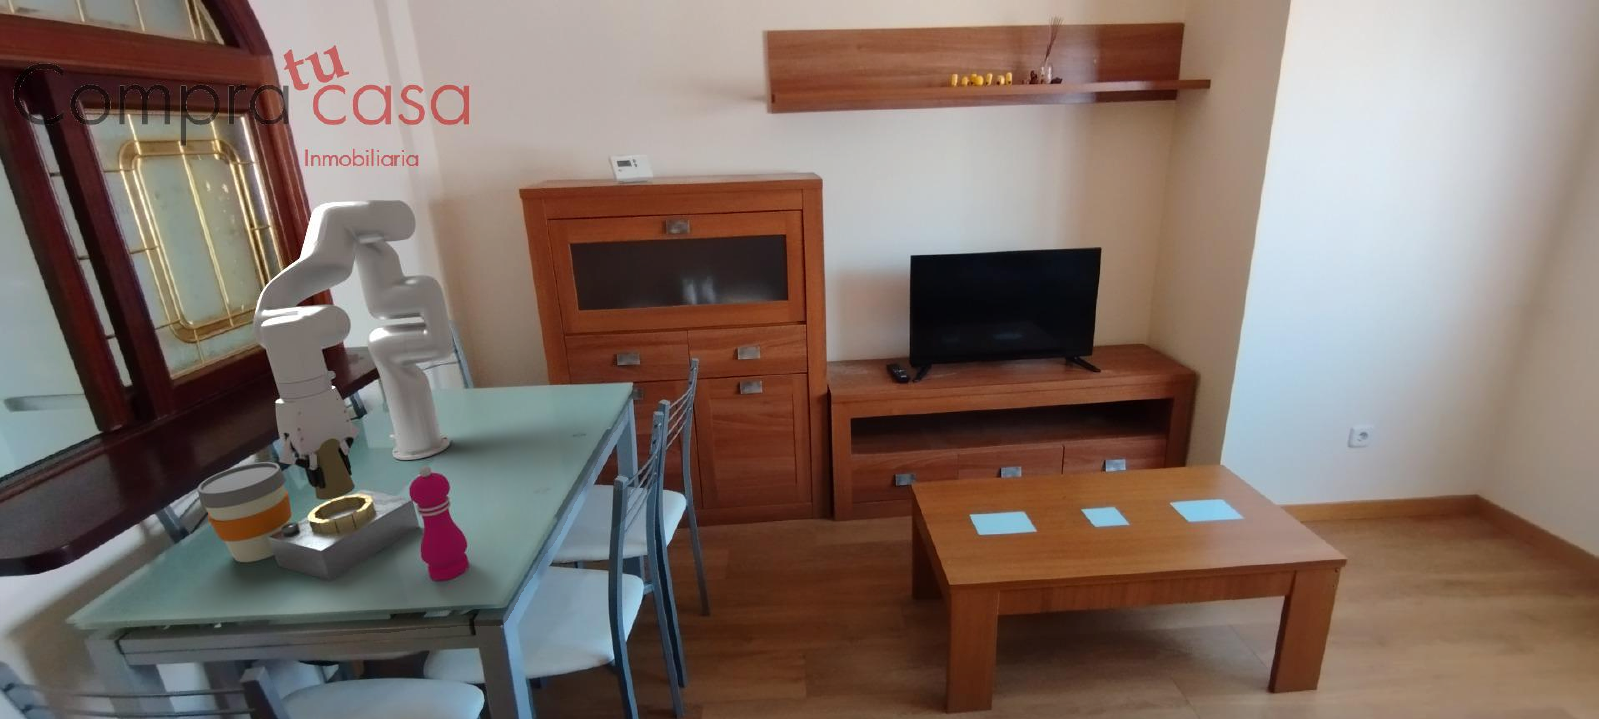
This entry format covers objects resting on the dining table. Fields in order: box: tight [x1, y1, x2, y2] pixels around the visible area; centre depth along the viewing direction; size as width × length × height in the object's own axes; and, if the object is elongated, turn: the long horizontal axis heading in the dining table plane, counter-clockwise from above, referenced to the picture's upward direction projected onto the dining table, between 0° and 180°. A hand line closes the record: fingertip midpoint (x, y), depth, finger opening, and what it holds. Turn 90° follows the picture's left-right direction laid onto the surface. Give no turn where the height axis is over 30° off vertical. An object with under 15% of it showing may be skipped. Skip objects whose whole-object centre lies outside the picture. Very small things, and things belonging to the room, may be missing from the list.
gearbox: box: [269, 488, 420, 581], centre depth 129 cm, size 14×18×8 cm
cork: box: [314, 439, 356, 501], centre depth 125 cm, size 6×6×11 cm
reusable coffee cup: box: [197, 461, 292, 563], centre depth 129 cm, size 12×13×15 cm
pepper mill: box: [408, 466, 470, 582], centre depth 118 cm, size 7×7×20 cm
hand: (332, 480), depth 126 cm, fingers closed on cork, 4 cm apart
